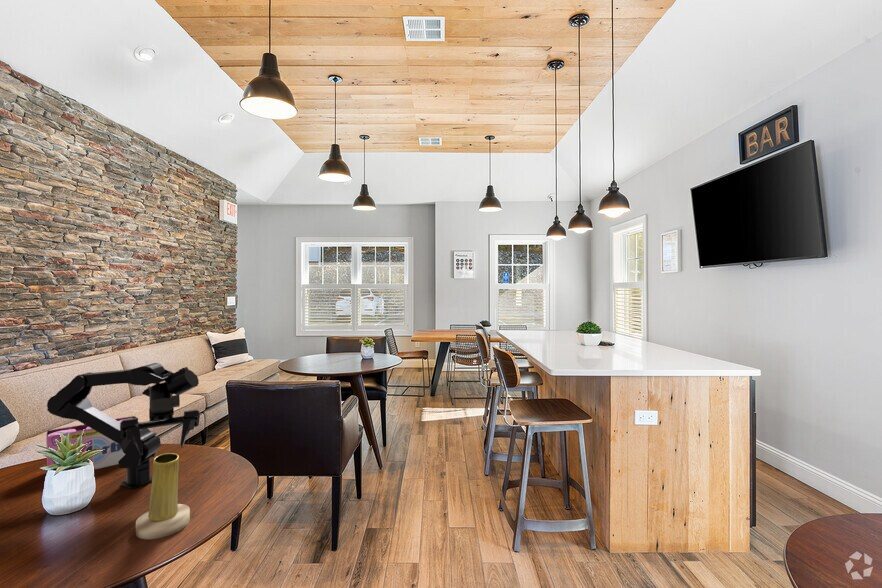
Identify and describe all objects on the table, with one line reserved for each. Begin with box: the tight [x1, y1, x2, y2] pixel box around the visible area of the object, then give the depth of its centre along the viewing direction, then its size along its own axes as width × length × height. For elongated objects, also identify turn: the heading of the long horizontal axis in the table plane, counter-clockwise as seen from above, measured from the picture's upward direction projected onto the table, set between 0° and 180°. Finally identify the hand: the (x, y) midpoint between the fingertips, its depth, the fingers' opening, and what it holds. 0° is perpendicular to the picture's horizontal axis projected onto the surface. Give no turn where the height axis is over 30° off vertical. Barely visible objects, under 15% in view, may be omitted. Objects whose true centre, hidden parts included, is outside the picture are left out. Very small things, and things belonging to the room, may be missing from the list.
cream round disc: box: [135, 503, 191, 540], centre depth 102 cm, size 11×11×3 cm
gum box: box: [45, 415, 140, 470], centre depth 137 cm, size 24×8×14 cm, turn 133°
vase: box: [148, 452, 180, 521], centre depth 101 cm, size 6×6×14 cm
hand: (162, 450), depth 114 cm, fingers open, 9 cm apart
